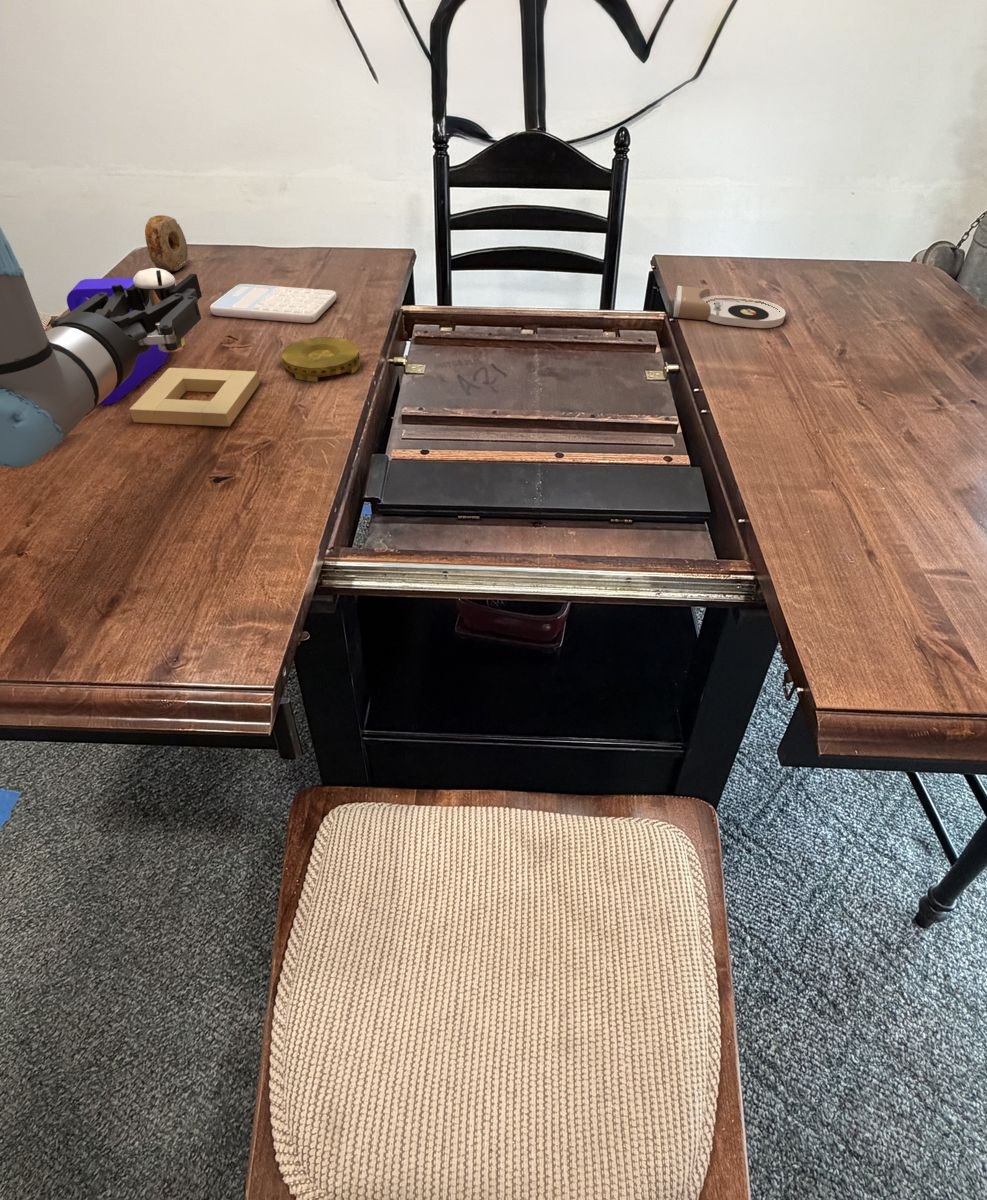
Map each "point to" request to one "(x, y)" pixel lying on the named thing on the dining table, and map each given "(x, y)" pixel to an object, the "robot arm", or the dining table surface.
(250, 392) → the square frame
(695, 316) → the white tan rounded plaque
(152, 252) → the stone disc
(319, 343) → the olive flat round disc
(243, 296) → the calculator
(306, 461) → the dining table surface
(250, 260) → the dining table surface
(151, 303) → the milkshake
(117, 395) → the bracket
